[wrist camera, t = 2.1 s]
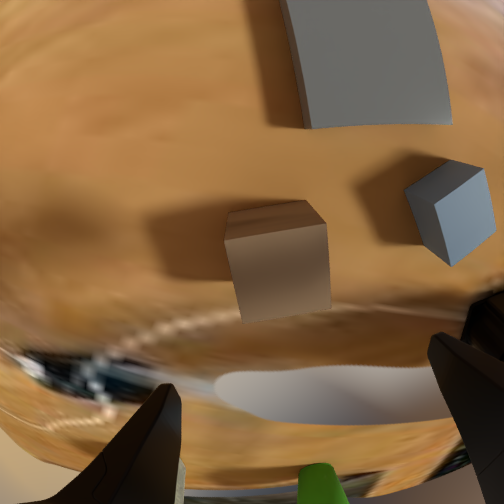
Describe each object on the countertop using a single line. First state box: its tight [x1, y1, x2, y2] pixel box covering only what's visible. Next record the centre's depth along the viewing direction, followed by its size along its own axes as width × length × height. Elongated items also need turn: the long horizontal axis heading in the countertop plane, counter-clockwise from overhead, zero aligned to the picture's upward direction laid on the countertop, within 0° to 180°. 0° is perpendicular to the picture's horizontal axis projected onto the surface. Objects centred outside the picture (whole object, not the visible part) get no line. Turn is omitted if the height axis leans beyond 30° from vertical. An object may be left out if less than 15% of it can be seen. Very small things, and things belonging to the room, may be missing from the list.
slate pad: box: [279, 0, 453, 129], centre depth 14 cm, size 10×10×2 cm
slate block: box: [404, 160, 496, 267], centre depth 17 cm, size 5×5×4 cm
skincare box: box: [175, 457, 186, 504], centre depth 26 cm, size 6×4×12 cm
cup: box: [297, 463, 349, 504], centre depth 29 cm, size 9×9×11 cm
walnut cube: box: [224, 200, 331, 324], centre depth 17 cm, size 5×5×5 cm
